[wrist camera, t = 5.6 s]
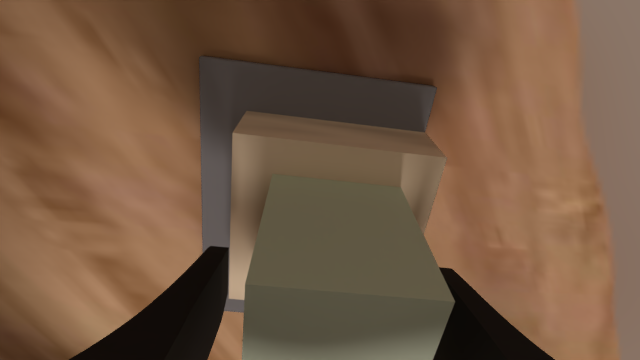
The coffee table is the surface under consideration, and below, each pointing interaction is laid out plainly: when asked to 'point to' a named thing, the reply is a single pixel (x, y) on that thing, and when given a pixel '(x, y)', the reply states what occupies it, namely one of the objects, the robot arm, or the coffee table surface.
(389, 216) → the sage block
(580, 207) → the coffee table surface
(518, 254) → the coffee table surface
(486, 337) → the robot arm
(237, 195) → the base block
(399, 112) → the mat
